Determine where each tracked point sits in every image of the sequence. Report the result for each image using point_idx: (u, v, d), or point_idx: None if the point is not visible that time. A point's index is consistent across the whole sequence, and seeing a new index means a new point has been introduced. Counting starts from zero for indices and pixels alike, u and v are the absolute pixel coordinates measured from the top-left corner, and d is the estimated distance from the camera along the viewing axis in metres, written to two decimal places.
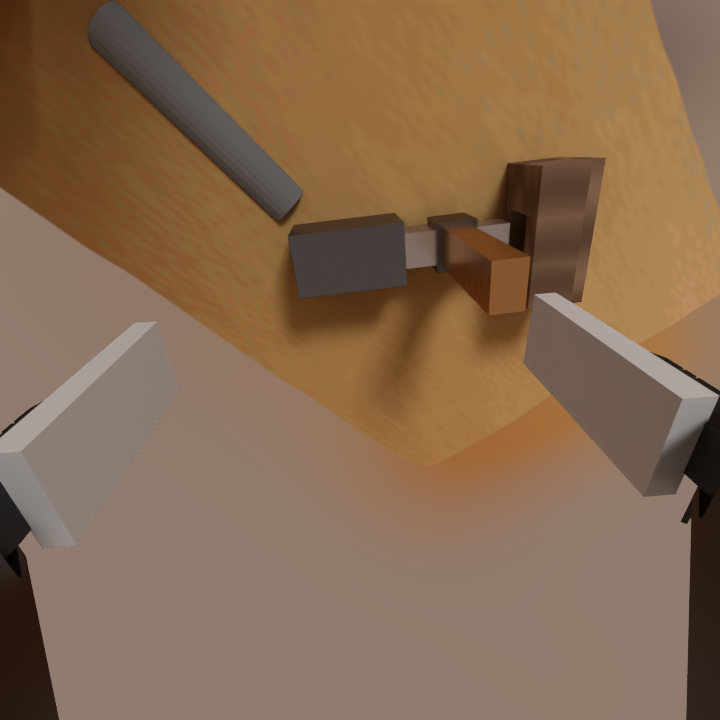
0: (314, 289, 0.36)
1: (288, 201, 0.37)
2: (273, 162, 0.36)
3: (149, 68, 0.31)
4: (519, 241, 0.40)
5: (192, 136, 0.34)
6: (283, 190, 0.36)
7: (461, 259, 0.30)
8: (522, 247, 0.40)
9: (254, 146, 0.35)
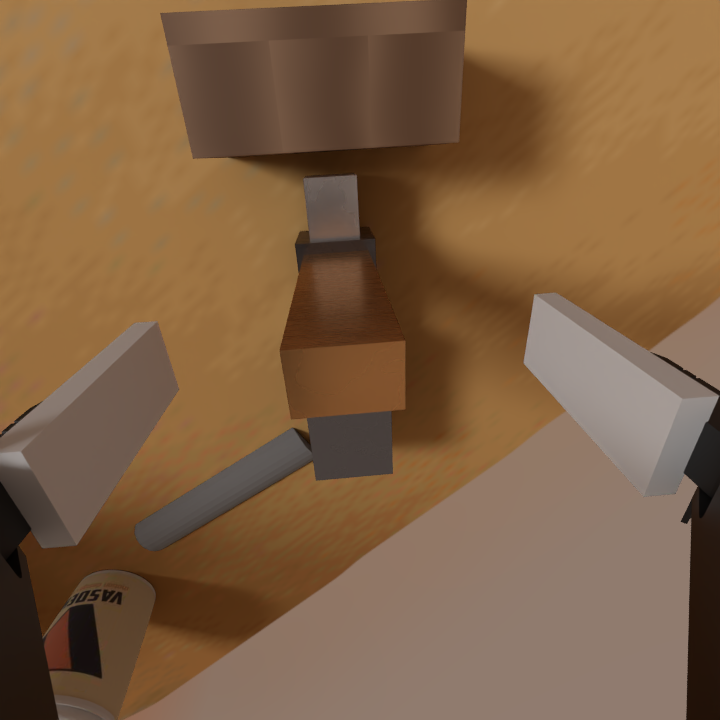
0: (382, 458, 0.28)
1: (300, 449, 0.33)
2: (261, 449, 0.34)
3: (178, 525, 0.36)
4: None
5: (233, 506, 0.36)
6: (288, 451, 0.33)
7: None
8: None
9: (245, 462, 0.34)
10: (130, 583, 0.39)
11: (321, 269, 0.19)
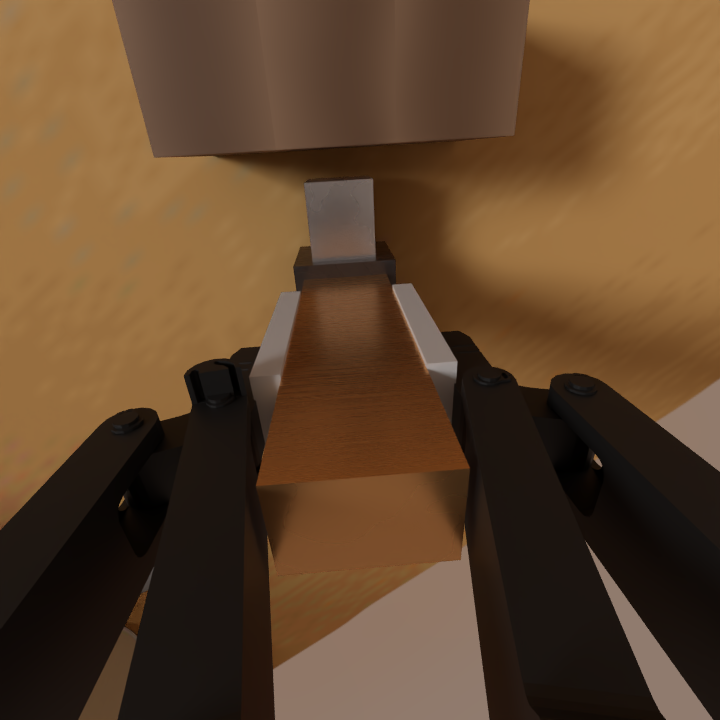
0: None
1: None
2: None
3: None
4: None
5: None
6: None
7: None
8: None
9: None
10: None
11: (326, 304, 0.14)
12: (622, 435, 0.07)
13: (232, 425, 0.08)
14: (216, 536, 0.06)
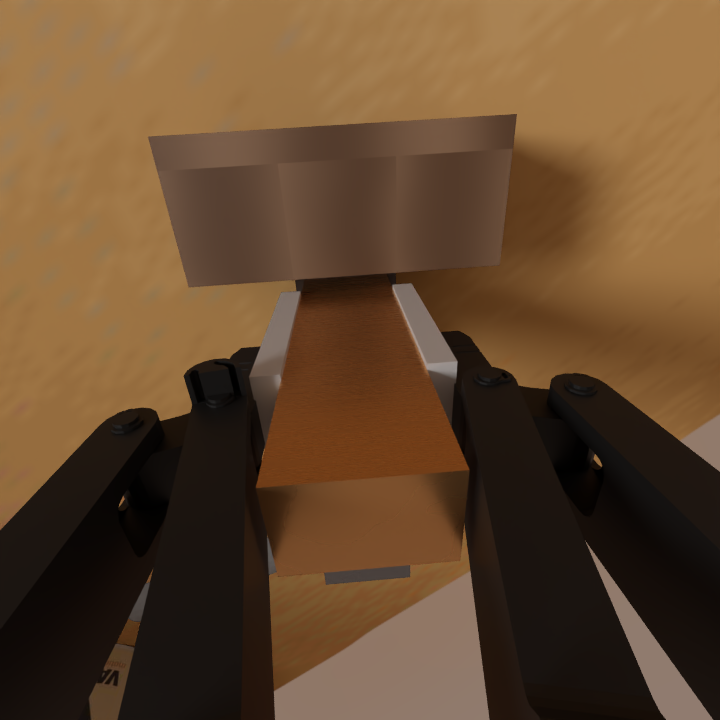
0: None
1: None
2: None
3: None
4: None
5: None
6: None
7: None
8: None
9: None
10: (127, 659, 0.37)
11: (326, 305, 0.14)
12: (622, 435, 0.07)
13: (232, 425, 0.08)
14: (216, 536, 0.06)
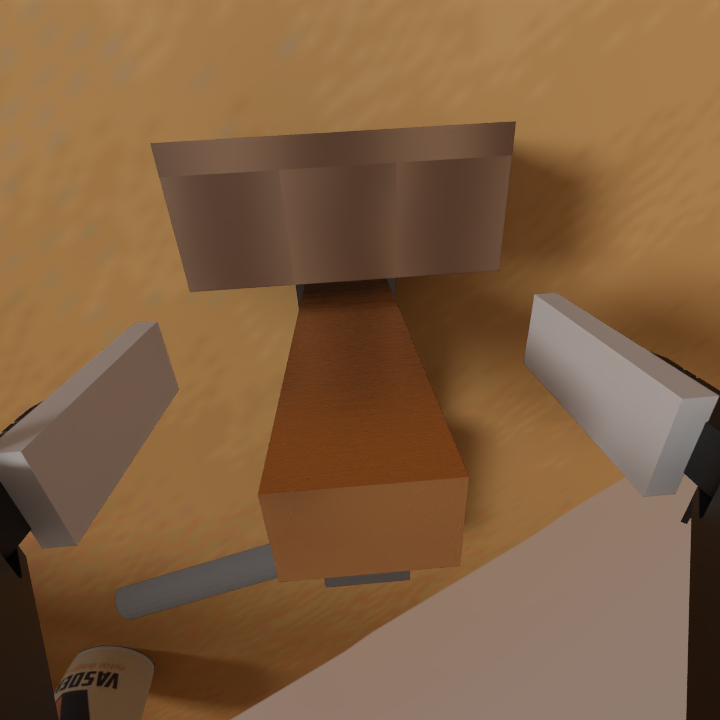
0: None
1: None
2: None
3: (168, 601, 0.33)
4: None
5: (232, 590, 0.34)
6: None
7: None
8: None
9: (260, 553, 0.32)
10: (127, 661, 0.37)
11: (327, 309, 0.14)
12: None
13: None
14: None
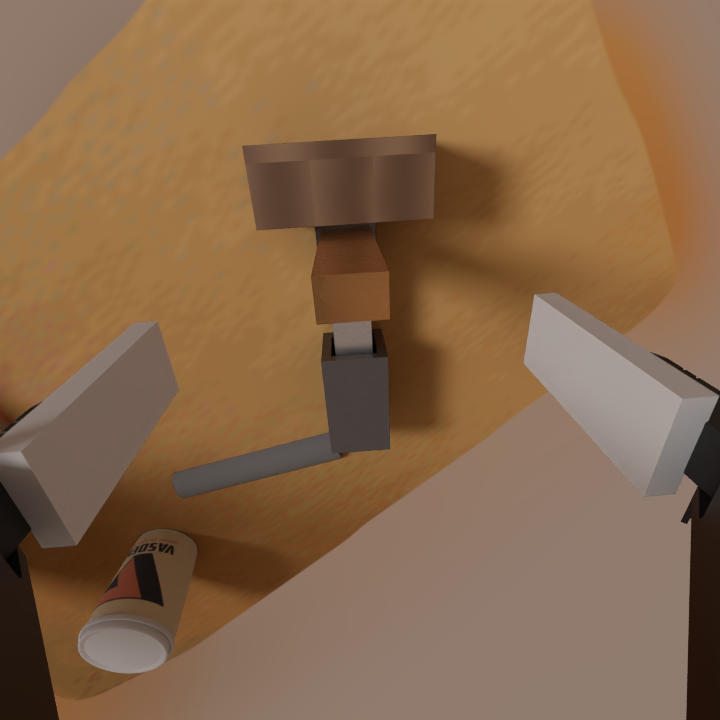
0: (382, 437, 0.37)
1: None
2: (301, 441, 0.44)
3: (213, 482, 0.45)
4: None
5: (260, 478, 0.45)
6: (322, 449, 0.43)
7: None
8: None
9: (285, 448, 0.44)
10: (179, 539, 0.49)
11: (334, 238, 0.26)
12: None
13: None
14: None
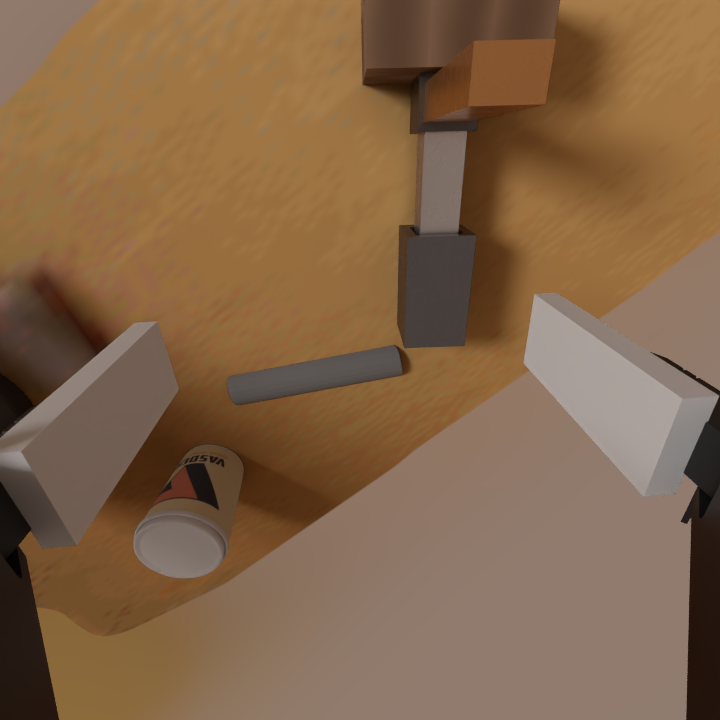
0: (458, 331, 0.36)
1: (395, 363, 0.43)
2: (364, 352, 0.43)
3: (269, 388, 0.44)
4: None
5: (316, 390, 0.45)
6: (386, 361, 0.43)
7: (463, 116, 0.24)
8: None
9: (347, 358, 0.43)
10: (228, 455, 0.48)
11: None
12: None
13: None
14: None
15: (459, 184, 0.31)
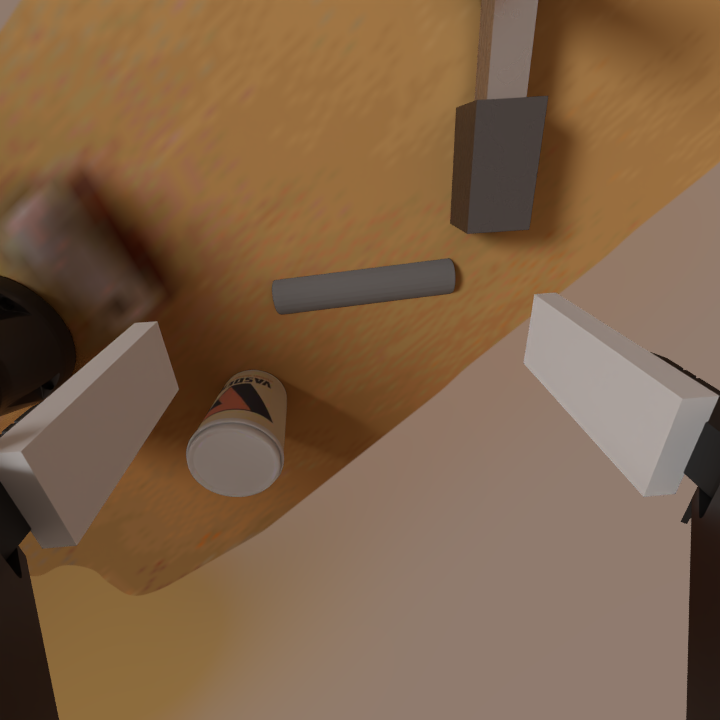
0: (524, 212, 0.34)
1: (449, 275, 0.42)
2: (418, 263, 0.42)
3: (316, 294, 0.42)
4: None
5: (364, 302, 0.43)
6: (440, 273, 0.41)
7: None
8: None
9: (400, 268, 0.42)
10: (272, 379, 0.46)
11: None
12: None
13: None
14: None
15: (530, 39, 0.30)
